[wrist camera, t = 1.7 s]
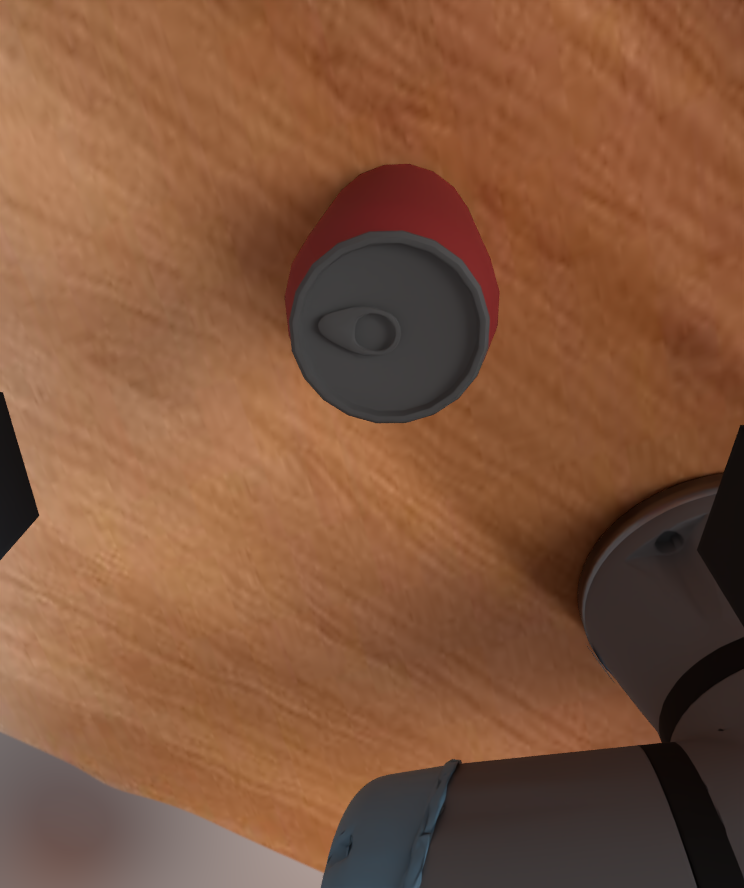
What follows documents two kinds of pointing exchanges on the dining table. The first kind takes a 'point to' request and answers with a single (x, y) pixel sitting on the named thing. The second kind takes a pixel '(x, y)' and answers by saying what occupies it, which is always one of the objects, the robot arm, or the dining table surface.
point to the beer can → (392, 297)
